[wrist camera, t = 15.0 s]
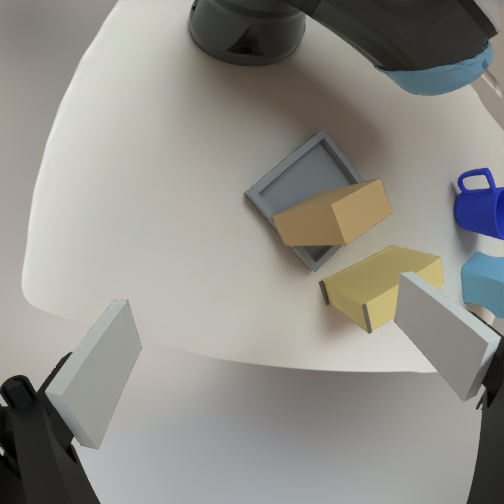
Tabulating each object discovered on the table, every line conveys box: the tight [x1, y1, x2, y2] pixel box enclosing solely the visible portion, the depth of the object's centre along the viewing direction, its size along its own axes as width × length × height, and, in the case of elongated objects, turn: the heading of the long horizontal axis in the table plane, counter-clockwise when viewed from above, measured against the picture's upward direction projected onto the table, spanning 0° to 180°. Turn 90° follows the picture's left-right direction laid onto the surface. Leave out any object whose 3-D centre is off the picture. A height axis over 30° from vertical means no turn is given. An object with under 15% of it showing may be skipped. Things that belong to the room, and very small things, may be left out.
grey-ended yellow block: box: [319, 245, 444, 334], centre depth 32 cm, size 12×4×10 cm, turn 111°
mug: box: [455, 168, 504, 240], centre depth 34 cm, size 8×12×10 cm
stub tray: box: [244, 129, 363, 272], centre depth 33 cm, size 12×12×2 cm
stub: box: [272, 178, 392, 246], centre depth 28 cm, size 7×4×10 cm, turn 113°
